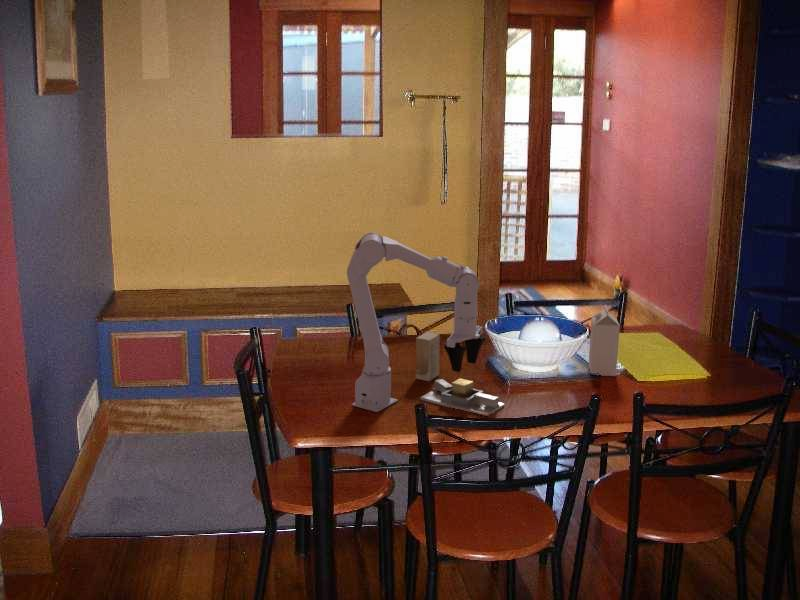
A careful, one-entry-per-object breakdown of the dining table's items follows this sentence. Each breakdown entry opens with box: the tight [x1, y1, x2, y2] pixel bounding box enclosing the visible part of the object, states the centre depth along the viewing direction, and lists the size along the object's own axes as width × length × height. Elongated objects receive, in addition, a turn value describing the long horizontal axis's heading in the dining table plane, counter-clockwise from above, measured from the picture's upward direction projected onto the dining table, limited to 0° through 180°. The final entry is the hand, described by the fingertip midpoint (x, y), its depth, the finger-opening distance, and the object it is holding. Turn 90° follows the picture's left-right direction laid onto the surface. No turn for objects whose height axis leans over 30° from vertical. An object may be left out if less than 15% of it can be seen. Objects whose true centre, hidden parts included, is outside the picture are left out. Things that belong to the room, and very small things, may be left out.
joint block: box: [451, 378, 474, 399], centre depth 243 cm, size 4×4×5 cm
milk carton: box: [588, 304, 621, 377], centre depth 266 cm, size 7×7×19 cm
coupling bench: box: [420, 378, 506, 415], centre depth 244 cm, size 9×20×4 cm, turn 55°
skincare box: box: [415, 331, 441, 382], centre depth 261 cm, size 6×4×12 cm
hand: (464, 366), depth 242 cm, fingers open, 7 cm apart
